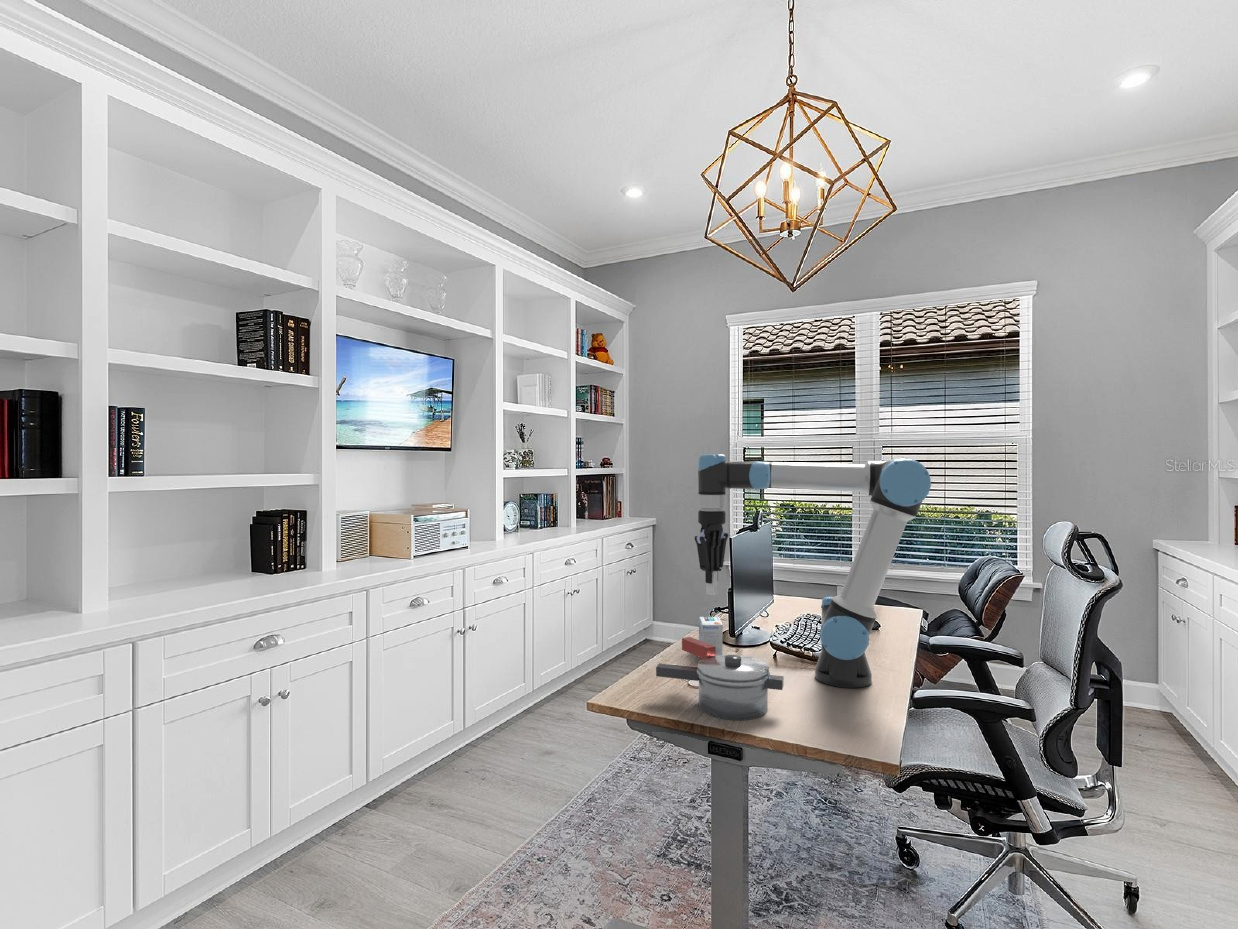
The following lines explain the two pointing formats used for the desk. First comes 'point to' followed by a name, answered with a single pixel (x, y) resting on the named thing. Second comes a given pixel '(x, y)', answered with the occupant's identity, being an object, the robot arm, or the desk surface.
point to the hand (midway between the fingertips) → (711, 594)
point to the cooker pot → (726, 692)
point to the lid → (724, 663)
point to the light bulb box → (711, 632)
